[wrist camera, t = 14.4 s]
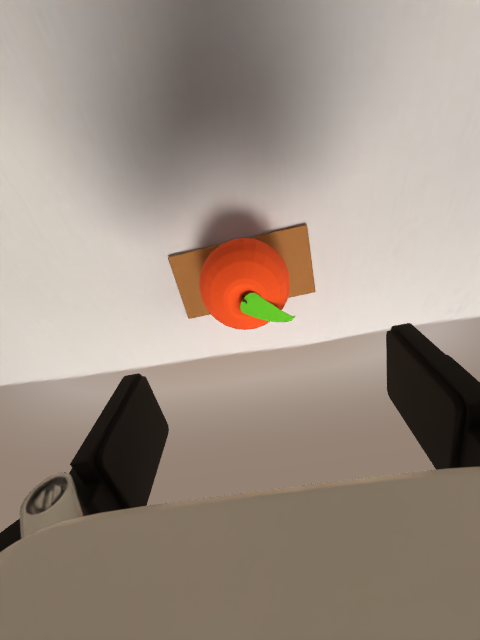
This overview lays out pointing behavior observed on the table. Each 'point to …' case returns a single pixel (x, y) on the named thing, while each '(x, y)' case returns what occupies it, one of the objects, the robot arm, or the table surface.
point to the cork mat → (285, 241)
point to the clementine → (245, 284)
